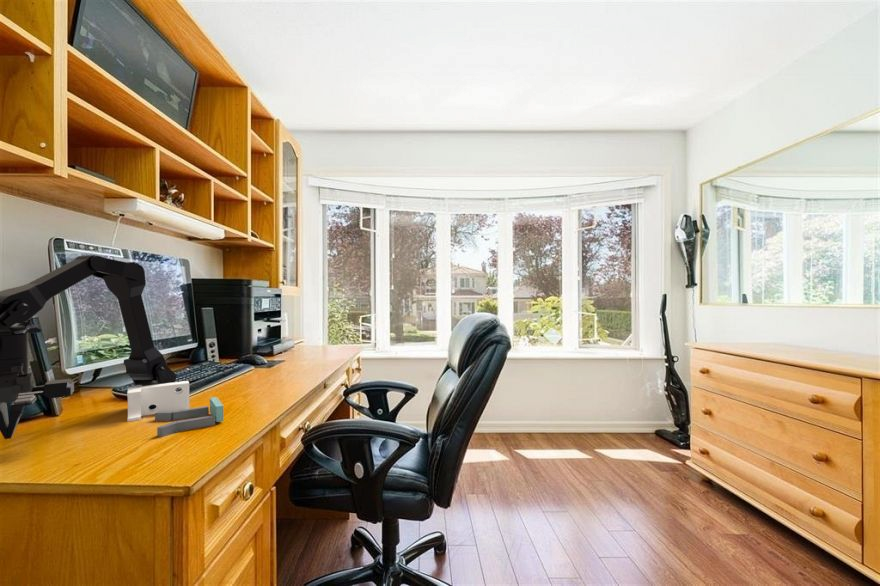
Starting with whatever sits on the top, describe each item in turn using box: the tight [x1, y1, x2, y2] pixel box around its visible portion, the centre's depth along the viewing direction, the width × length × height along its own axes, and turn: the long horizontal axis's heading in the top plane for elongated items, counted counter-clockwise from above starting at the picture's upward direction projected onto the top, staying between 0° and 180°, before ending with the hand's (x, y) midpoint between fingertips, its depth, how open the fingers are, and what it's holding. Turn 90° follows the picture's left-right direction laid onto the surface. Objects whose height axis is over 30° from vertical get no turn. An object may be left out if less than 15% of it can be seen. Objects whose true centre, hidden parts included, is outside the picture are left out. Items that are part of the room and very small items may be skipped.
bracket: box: [126, 380, 190, 422], centre depth 104 cm, size 13×7×8 cm
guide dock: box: [154, 405, 216, 438], centre depth 96 cm, size 16×11×2 cm
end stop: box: [209, 396, 224, 423], centre depth 100 cm, size 10×2×4 cm, turn 37°
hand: (8, 438), depth 79 cm, fingers closed
